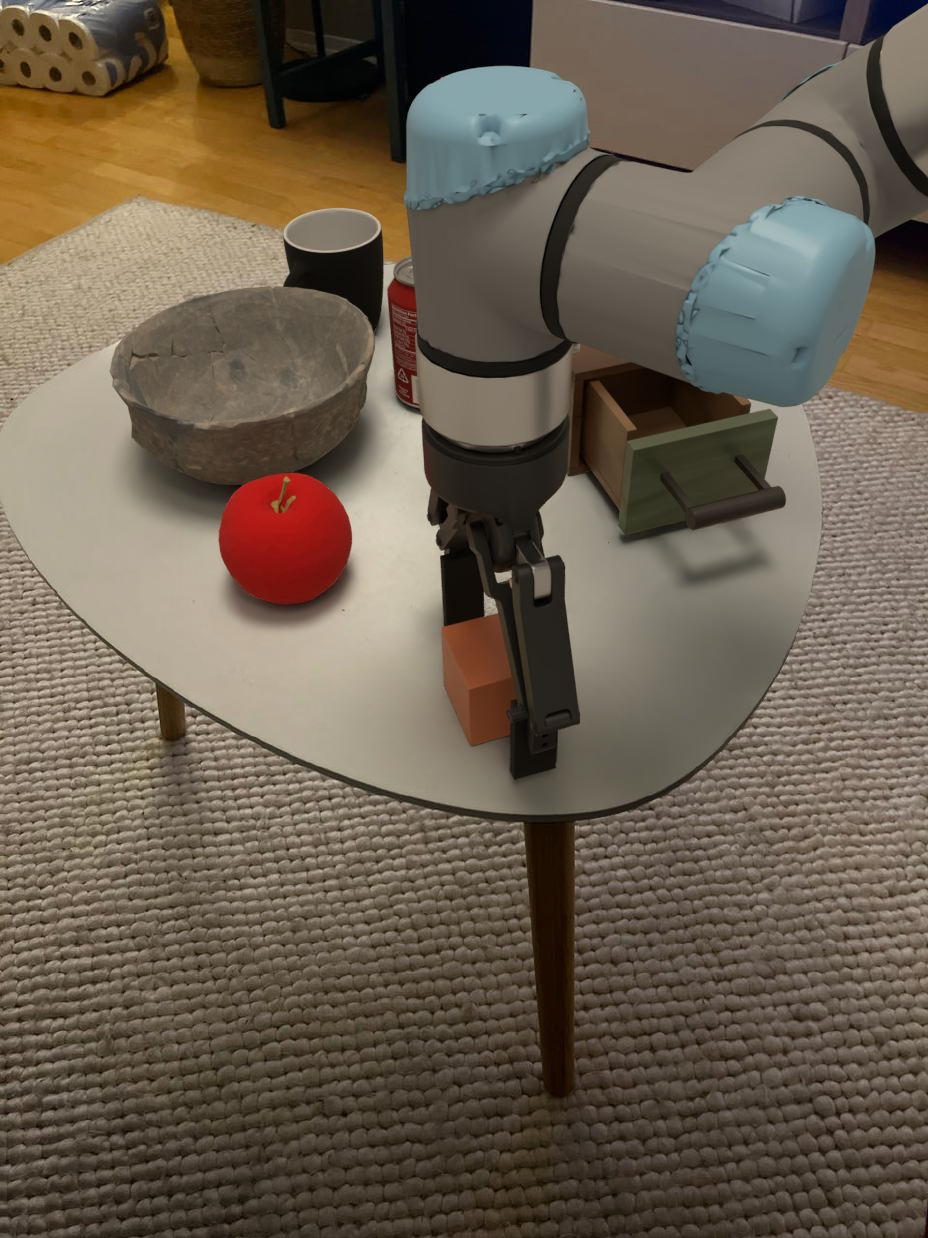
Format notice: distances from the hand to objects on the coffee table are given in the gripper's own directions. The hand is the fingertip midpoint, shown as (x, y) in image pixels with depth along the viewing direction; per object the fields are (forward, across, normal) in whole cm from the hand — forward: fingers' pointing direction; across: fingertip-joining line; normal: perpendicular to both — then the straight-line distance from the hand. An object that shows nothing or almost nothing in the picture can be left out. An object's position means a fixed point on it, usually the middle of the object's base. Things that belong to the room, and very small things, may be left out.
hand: (496, 693), depth 69 cm
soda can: (+1, +36, -7) cm, 37 cm away
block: (+1, 0, 0) cm, 1 cm away
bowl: (+1, +33, +9) cm, 34 cm away
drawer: (0, +15, -20) cm, 25 cm away
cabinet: (+1, +28, -20) cm, 34 cm away
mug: (+1, +49, -1) cm, 49 cm away
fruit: (+1, +16, +10) cm, 19 cm away
